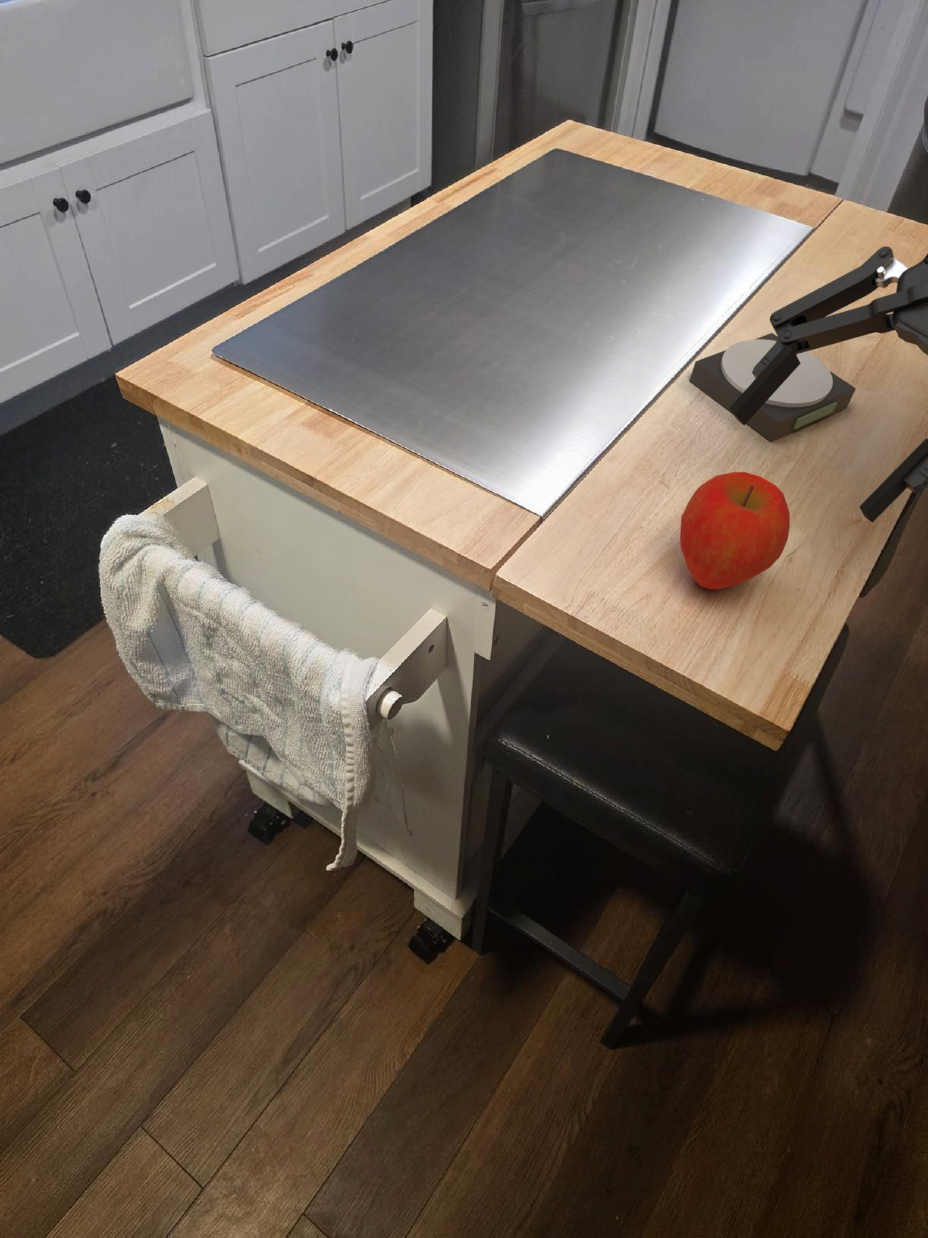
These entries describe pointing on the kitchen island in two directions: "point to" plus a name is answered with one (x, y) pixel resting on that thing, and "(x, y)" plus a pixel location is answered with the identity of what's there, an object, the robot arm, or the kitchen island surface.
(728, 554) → the apple
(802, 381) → the kitchen scale
